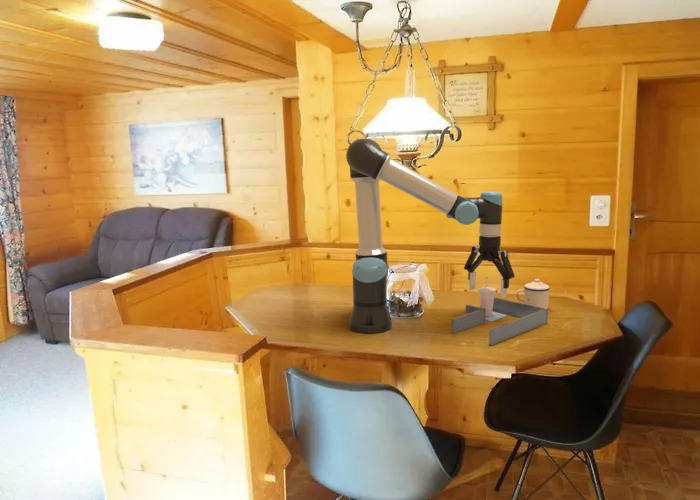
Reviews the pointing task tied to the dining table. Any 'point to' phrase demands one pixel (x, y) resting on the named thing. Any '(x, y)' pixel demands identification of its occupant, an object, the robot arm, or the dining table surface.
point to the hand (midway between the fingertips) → (487, 293)
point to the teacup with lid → (535, 294)
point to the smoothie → (487, 298)
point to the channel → (528, 321)
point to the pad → (495, 316)
